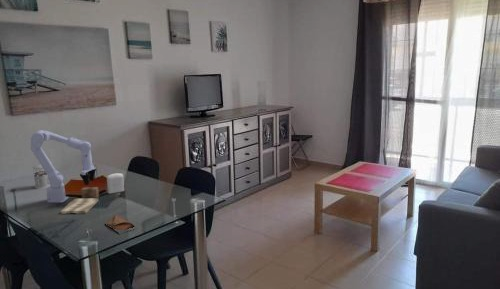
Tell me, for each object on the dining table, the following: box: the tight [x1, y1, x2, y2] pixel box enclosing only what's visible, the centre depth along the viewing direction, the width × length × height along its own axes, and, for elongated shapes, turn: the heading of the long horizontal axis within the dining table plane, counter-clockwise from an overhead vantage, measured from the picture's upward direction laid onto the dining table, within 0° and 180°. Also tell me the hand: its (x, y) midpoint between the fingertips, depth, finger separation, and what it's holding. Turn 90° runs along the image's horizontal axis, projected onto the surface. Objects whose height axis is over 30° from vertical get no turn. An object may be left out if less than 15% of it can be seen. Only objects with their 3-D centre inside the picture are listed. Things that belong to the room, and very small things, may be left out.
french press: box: [32, 163, 51, 190], centre depth 253 cm, size 10×12×25 cm
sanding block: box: [80, 186, 100, 199], centre depth 236 cm, size 9×4×6 cm, turn 91°
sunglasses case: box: [105, 214, 135, 230], centre depth 196 cm, size 18×7×7 cm, turn 48°
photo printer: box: [106, 172, 125, 194], centre depth 244 cm, size 10×4×12 cm, turn 124°
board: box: [59, 197, 99, 215], centre depth 221 cm, size 14×19×2 cm
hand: (89, 182), depth 234 cm, fingers open, 7 cm apart
